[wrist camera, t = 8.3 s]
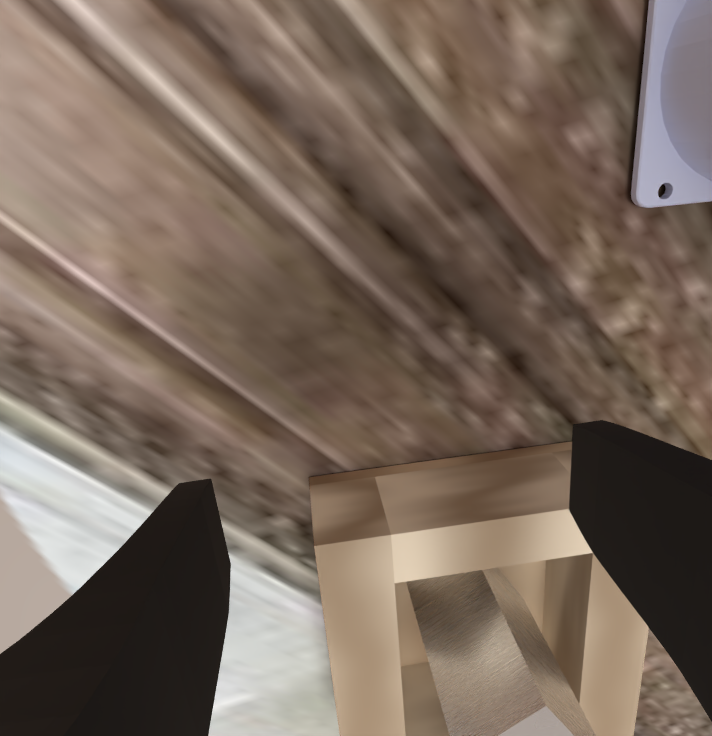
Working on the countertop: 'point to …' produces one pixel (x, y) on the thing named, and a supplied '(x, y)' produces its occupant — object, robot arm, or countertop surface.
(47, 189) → the countertop surface
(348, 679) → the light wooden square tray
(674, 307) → the countertop surface
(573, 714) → the brushed grey metal block
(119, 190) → the countertop surface
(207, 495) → the robot arm
